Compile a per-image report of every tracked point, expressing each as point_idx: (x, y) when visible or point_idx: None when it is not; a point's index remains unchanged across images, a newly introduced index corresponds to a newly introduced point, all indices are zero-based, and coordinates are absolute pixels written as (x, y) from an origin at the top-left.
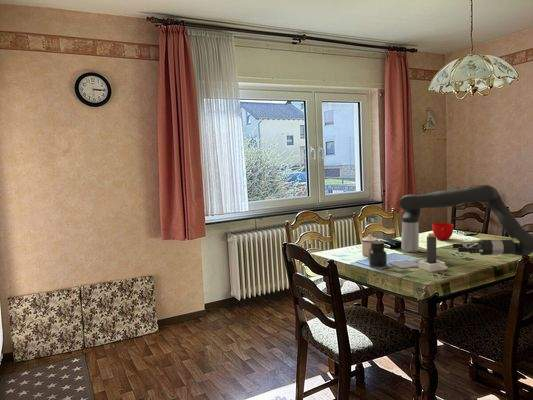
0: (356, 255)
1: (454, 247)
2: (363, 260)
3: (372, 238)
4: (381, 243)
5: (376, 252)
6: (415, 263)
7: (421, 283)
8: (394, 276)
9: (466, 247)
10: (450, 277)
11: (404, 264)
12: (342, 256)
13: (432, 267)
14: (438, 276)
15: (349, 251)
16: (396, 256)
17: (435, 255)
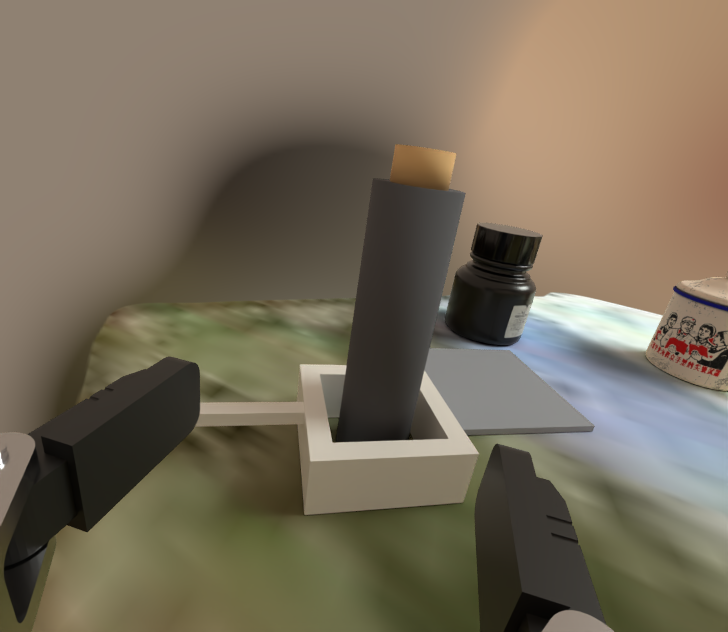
0: (644, 339)
1: (479, 509)
2: (554, 327)
3: (717, 286)
4: (482, 226)
5: (467, 262)
6: (498, 421)
7: (151, 312)
8: (295, 304)
9: (54, 438)
10: None
11: (471, 376)
12: (605, 315)
13: (299, 394)
14: None
15: None
16: (715, 437)
17: (353, 356)
